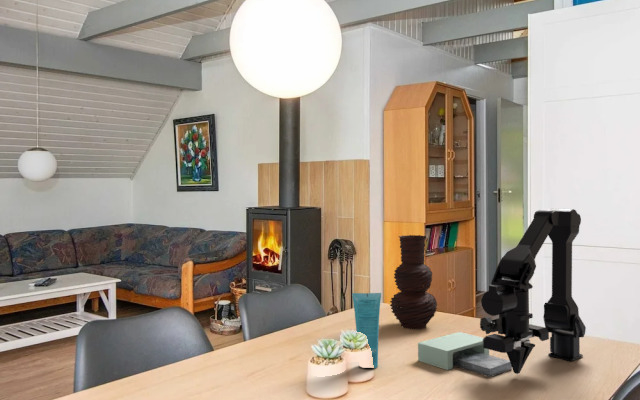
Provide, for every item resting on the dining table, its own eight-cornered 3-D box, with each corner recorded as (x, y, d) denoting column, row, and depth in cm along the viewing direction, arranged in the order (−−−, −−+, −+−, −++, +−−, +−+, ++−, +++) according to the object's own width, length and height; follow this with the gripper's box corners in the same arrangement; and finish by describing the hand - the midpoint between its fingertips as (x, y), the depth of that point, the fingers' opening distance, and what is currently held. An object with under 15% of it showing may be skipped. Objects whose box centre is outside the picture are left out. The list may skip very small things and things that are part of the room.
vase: (382, 323, 191) (381, 235, 190) (423, 319, 196) (422, 233, 195) (402, 334, 177) (401, 239, 176) (446, 329, 181) (444, 237, 180)
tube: (380, 363, 149) (379, 290, 148) (384, 369, 144) (382, 294, 143) (352, 364, 148) (351, 291, 147) (355, 370, 143) (354, 295, 143)
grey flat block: (511, 369, 142) (511, 361, 142) (489, 377, 136) (489, 368, 136) (454, 353, 156) (454, 345, 156) (433, 359, 151) (433, 351, 151)
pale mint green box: (489, 356, 152) (489, 339, 152) (447, 370, 142) (447, 351, 142) (459, 348, 160) (459, 331, 160) (418, 360, 150) (418, 342, 150)
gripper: (510, 298, 147) (511, 357, 148) (464, 309, 136) (464, 372, 137) (549, 305, 138) (550, 368, 139) (503, 317, 127) (504, 385, 128)
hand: (516, 373), depth 136 cm, fingers closed
